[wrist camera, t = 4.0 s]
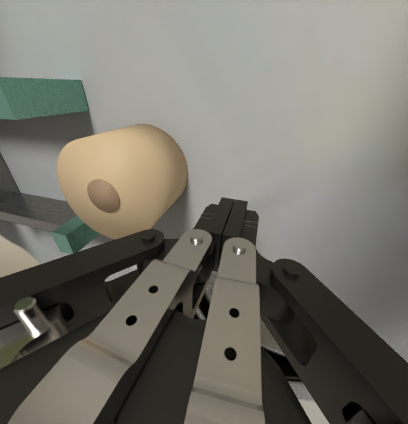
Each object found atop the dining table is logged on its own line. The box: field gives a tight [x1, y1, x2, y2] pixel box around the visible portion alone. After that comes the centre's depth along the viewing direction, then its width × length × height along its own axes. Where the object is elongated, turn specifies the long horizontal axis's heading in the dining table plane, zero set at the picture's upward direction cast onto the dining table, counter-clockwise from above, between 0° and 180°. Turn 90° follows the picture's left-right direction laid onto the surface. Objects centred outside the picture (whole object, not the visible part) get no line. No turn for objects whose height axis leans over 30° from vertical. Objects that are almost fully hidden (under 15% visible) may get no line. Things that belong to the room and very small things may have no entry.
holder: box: [0, 77, 100, 254], centre depth 19 cm, size 16×13×6 cm
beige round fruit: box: [57, 124, 188, 240], centre depth 16 cm, size 7×7×6 cm
